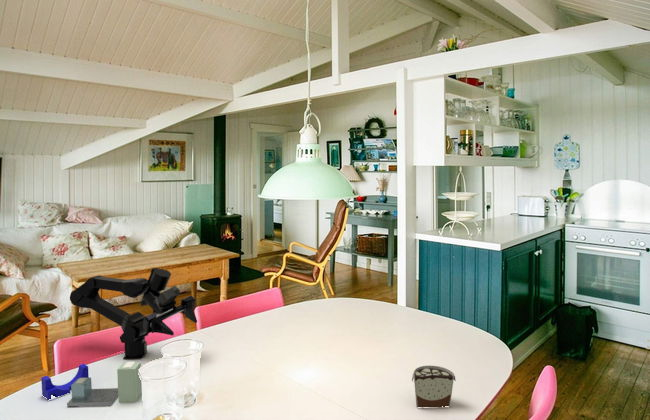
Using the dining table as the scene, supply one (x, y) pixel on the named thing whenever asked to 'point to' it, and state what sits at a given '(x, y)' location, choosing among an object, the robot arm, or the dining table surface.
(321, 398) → the dining table surface
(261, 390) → the dining table surface
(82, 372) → the blue curved cradle
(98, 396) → the grey base with block
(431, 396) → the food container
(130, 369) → the block
